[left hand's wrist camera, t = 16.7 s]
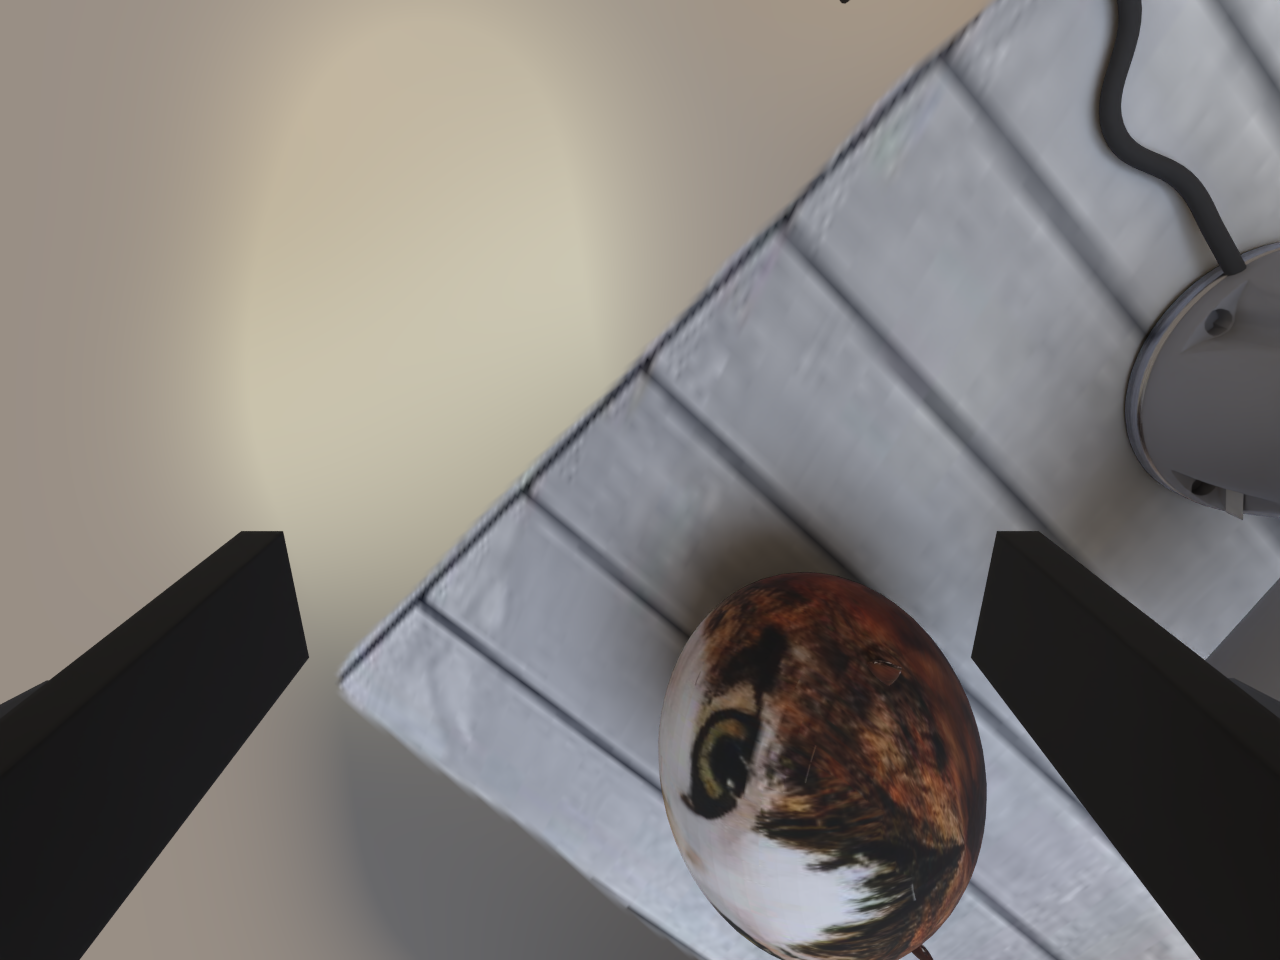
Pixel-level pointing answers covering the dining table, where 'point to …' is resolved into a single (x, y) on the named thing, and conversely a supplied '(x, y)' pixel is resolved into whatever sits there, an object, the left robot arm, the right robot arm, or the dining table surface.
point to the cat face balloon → (822, 771)
